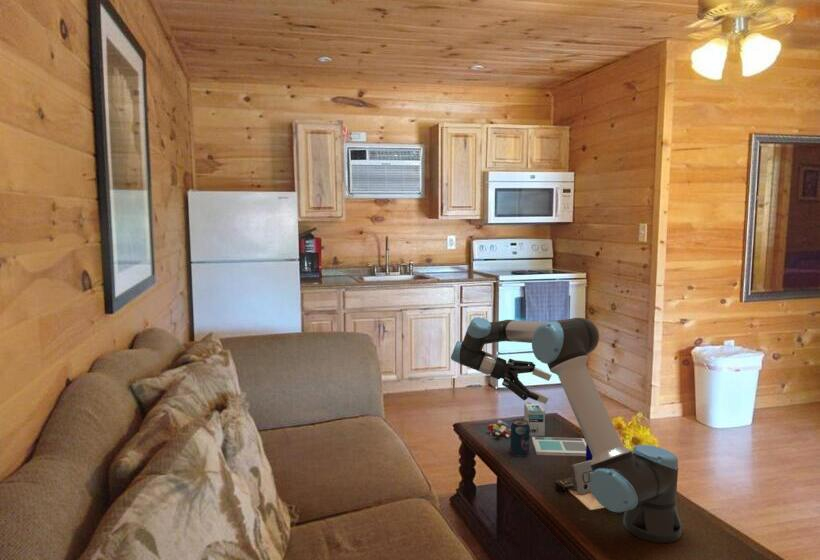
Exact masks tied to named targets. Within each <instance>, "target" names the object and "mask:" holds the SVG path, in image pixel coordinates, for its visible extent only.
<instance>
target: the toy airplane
mask: <svg viewBox="0 0 820 560" xmlns="http://www.w3.org/2000/svg"><path fill="white" fill-rule="evenodd" d="M486 428H487V429H488V430H489V431H490V432H489V436H490V437H491V436H493V435H495V436H501V435H503V436H505V438H507V439H509V438H511V428H510V429H507V428H509V425H508V423H506V422H505V421H503V420H502V419H501V420H497V422H496V423H490V424H489V425H488V426H487V427H486Z"/></svg>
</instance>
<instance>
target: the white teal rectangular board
mask: <svg viewBox="0 0 820 560" xmlns="http://www.w3.org/2000/svg"><path fill="white" fill-rule="evenodd" d="M531 442H532V445H533V448H534V450H535V454H536V455H537V456H538V455H539V456H559V457H561V456H562V457H563V456H564V457H586V444H587V442H586V440H585V437H584V438H580V437H579V438H577V437H555V436H553V437H547V436H531Z"/></svg>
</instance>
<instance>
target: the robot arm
mask: <svg viewBox="0 0 820 560" xmlns="http://www.w3.org/2000/svg"><path fill="white" fill-rule="evenodd" d="M501 342H511V343H512V342H515V343H526V344H531V348H532V353H533V355H534V357H535V358H536V359H537V361H540V362H541V363H543V364H544V365H545V364H546V365H547V368H548V370H549V371H550V373H549V372H547V371H545V370H543V369H540V368H538V367H536V363H534V362H533V361H527V360H526V361H525V360H516V359H512V358H509V359H508V361H507V360H506V359H504V358H502V357H499V356H498V357H496V355H495V354H491V353H489V352H487V351H484V350H483V349H484V346H485V345H488V344H494V343H501ZM599 342H600V333H599V329H598V328H597V326H596V324H595V323H594V322H593V321H592V320H591V319H587V318H584V317H572V318H567V319H559V320H550V321H537V320H536V321H535V320H533V321H532V320H531V321H530V320H516V319H503V320H498V321H489V320H488V319H486V318H484V317H480V316H477V317H474V318H472V319H471V321H470V323H469V325H468V326H467V330H466V332H465V335H464V337H463V340H462V341H459V340H458V341H456V343H455V346H454V348H453V351H451V352H452V353H451V356H450V359H451V361H453V362H456V363H458V364H459V365H462V366H464V367H467V368H470V369H472V370H475V371H476V372H479V373H482V374H484V375H486V376H488V375H490V377H491V378H493V379H496V380H500V379H502V383H501V385H502V386H503V387H505V388H507V389H508V390H510V391H511V393H512V392H513V393H514V394H515V395H516V396H517V397H519V398H520V399H521V400H523V401H526V400H528V399H531V400H534V401H535V402H536V401H537V402H540V403H542V404H545V405H547V403H548V401H549V399H550V397H549V396H547V395H545V394H542V393H540V392H537V391H534V390H532V389H530V390H529V388H527V387H526V385H524V383H523V382H522V381H520V379H519V377H518V376H519V374H527V373H531V374H532V375H534V376H535V377H537V378H540V379H543V380H546V381H548V382H549V381H550V379H551V377H552V375H553V374H555V375H557V377H558V379H559V382H560V384H561V386H562V389H563V391H564V393H565V396H566V398H567V400H568V402H569V405H570V407H571V410H572V412H573V414H574V417H575V418H576V421H577V423H578V426H579V427H580V431H581V432H582V435H583V437H584V440H585V442H586V444H588V447H589V449H590V451H591V454H592V460H591V463H590V466H591V468H592V470H593V473H592V474H591V476H590V480H591V481H590V488H591V493H592V495H593V496H594V498H595V500H596V501H597V503H599V504H600V505H601V506H602V507H603V508H606V510H608V511H611V512H614V513H623V521H622V523H623V526H624V528H625V529H626V530H627V531H628V532H629V533H631V535H634V536H635V537H636V538H638V539H641V540H644V541H648V542H653V543H660V544H662V543H664V544H666V543H672V542H676V541H677V540H679V539H681V537H682V523H681V519H680V515H679V512H678V509H677V494H678V493H677V490H678V489H677V488H678V476H679V470H680V469H679V460H678V457H677V456H676V454H675V453H673V452H671V451H670V450H668V449H665V448H662V447H659V446H654V445H650V444H649V445H648V444H637V445H636V446H634V447H633V450H632V449H630V448H627V447H626V448H625V447H624V446H623V445H622V443H621V442H622V441H621V439H620V436H619V434H618V432H617V429H616V427H615V425H614V423H613V422H612V419H611V417H610V415H609V413H608V410H607V408H606V406H605V404H604V402H603V399H602V397H601V395H600V393H599V391H598V388H597V386H596V384H595V382H594V380H593V377H592V375H591V373H590V371H589V368H588V366H587V362H588V359H589V354H591V353H593V352H594V351H595V349H596V348H597V347H598V345H599ZM551 373H552V374H551Z"/></svg>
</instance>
